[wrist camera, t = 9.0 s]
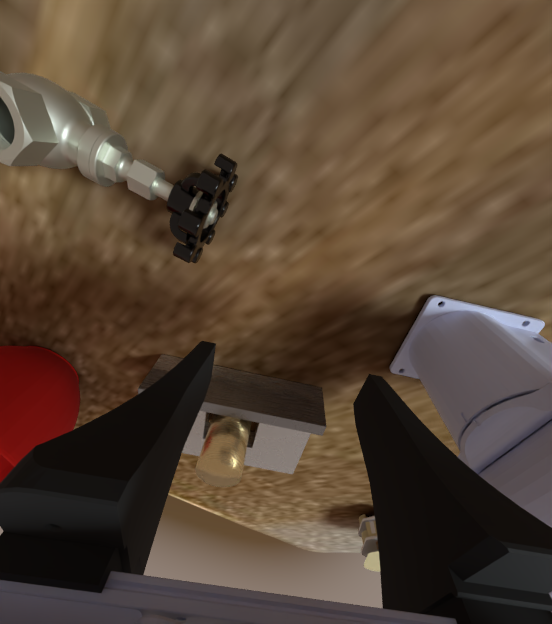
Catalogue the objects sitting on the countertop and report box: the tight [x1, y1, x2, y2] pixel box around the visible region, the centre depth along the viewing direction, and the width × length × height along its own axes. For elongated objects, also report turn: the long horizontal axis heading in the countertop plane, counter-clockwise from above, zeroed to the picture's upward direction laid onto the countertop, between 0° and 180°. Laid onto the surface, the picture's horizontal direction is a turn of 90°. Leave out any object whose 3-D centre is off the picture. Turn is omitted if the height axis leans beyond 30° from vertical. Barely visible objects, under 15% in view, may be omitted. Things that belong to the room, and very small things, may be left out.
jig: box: [138, 354, 326, 474], centre depth 27 cm, size 16×12×4 cm
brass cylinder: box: [195, 414, 252, 487], centre depth 26 cm, size 4×4×7 cm
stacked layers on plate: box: [358, 514, 380, 571], centre depth 36 cm, size 10×9×6 cm
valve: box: [0, 71, 238, 263], centre depth 15 cm, size 7×7×12 cm
